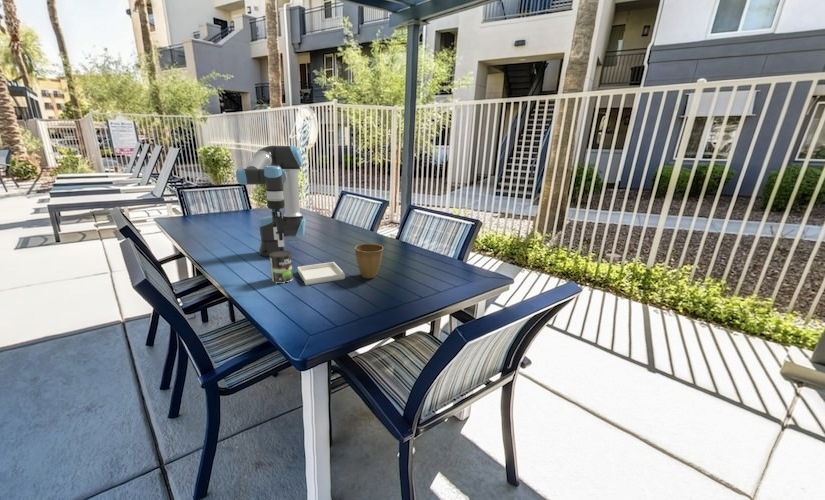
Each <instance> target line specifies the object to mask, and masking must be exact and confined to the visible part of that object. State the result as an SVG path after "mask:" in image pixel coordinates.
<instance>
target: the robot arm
mask: <svg viewBox="0 0 825 500" xmlns="http://www.w3.org/2000/svg"><path fill="white" fill-rule="evenodd" d="M303 165H304V164H303V158H302V153H301V150H300V147H298V146H296V145H295V146H294V145H268V146H265V147H264V146H263V147H262V148H260V149H259V150H257V151H256V152H255V153H254V155H253V159H252V160H251V161H250V163H249V164H248V165H247V166H246V167H245V168H243V167H242V168H237V169H236V171H235V177H236V182H237V183H238V184H239V185H244V186H245V185H246V186H247V185H248V186H249V185H250V186H251V185H252V186H253V185H254V186H255V185H259V186H261V185H264V186H265V191H266V192H265V193H264V195H265V196H266V200H267V201H266V204H267V205H266V206H267V208H268V209H271V215H269V216H264V217H261V218H260V219H259V220H258V221H259V222H258V223H259V225H258V227H259V234H260V245H259V246H260V247H259V249H258V253H259V254H260V255H259V256H261V255H262V256H261V257H264V256H269V254H270V253H272V252H275V251H286V248H285V238H299V237H300V238H301V237H304V235H305V232H306V231H305V230H306V222H307V219H306V218H305V217H304V215H303V213H302V212H301V207H300V206H301V205H300V204H301V203H300V192H299V191H300V190H299V189H300V187H299V174H298V173H299V172H300V170H301V167H303ZM280 209H284V214H282V211H281V210H280ZM268 258H270V256H269V257H268Z"/></svg>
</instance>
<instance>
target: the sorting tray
mask: <svg viewBox="0 0 825 500" xmlns="http://www.w3.org/2000/svg"><path fill="white" fill-rule="evenodd" d="M297 273H298V274H299V276H300V278H301V280H302V282H303V281H304V282H303V283H304V285H305V286H310V285H317V284H322V283H328V282H336V281H341V280H342V281H343V280H346V273H345V272H344V271H343V270H342V269H341V267H340V266H338V265H337V263H336V262H335V261H331V262H324V263H316V264H315V263H314V264H309V265H302V266H297Z"/></svg>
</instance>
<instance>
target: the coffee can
mask: <svg viewBox="0 0 825 500" xmlns="http://www.w3.org/2000/svg"><path fill="white" fill-rule="evenodd" d="M269 256H270V257H269V262H270V263H269V264H270V274H271V282H272V281H273V282H276V283H275V284H277V283H283V284H286V283H285V282H288V283H290V282H292V281H294V275H293V274H294V273H293V262H292V261H293V260H292V252H291V251H290V250H289V251H288V250H285V251H275V252H272V253H270V254H269ZM289 281H290V282H289ZM273 282H272V283H273Z"/></svg>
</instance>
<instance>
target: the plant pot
mask: <svg viewBox="0 0 825 500" xmlns="http://www.w3.org/2000/svg"><path fill="white" fill-rule="evenodd" d="M354 254H355V257H356V258H355V259H356V262H357V263H356V264H357V265H358V266H357V267H358V269H359V271H360V276H361V277H362V278H363V279H375V278H376V277H377V274H378V272H379V269H380V266H381V263H382V258H383V254H384V247H383V245H380V244H376V243H362V244H357V245H356V246H355V247H354Z"/></svg>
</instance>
